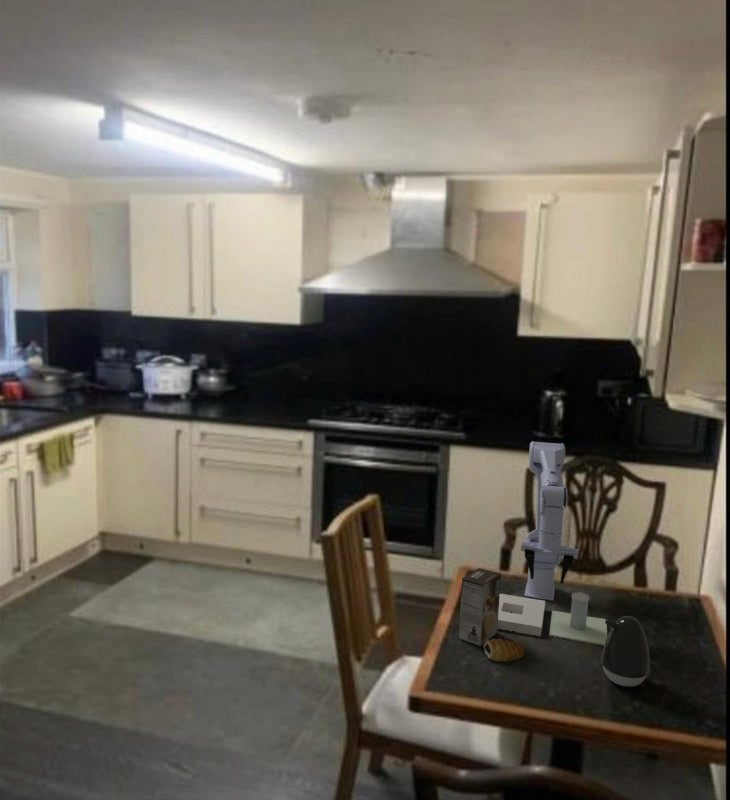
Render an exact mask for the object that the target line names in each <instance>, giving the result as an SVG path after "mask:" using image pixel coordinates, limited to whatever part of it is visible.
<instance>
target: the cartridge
mask: <svg viewBox="0 0 730 800" xmlns="http://www.w3.org/2000/svg"><path fill="white" fill-rule="evenodd" d="M589 601H590V596H589V594H587V593H584V592H580V591H576V592H575V591H574V592H572V593H571V607H570V608H571V609H570V614H571V617H570V627H571V628H573V629H575V630H585V629H586V621H587V616H588V608H589Z"/></svg>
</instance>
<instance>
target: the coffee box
mask: <svg viewBox="0 0 730 800" xmlns="http://www.w3.org/2000/svg"><path fill="white" fill-rule="evenodd" d="M501 577H502V574H501V573H500V572H496V571H493V570H488V569H485V568H481V567H478V568H477V569H475V570H473V571H471V572H470V573H469V574H467V575H465V576H464V577H463V578H462V579H461V594H460V595H461V596H460V598H461V599H460V615H459V633H458V634H459V635H458V636H459V637H458V639H460V640H462V641H466V642H468V643H471V644H474V645H475V646H476V645H477V646H479V647H482V646H484V644H485V642H486V641H487V640H491V639H492V638H493V637H494V636H495V635H496V634H497V633H498V629H497V627H498V612H499V595H500V594H501V593H500V592H501V591H500V590H501Z"/></svg>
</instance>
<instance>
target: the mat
mask: <svg viewBox="0 0 730 800" xmlns="http://www.w3.org/2000/svg"><path fill="white" fill-rule="evenodd" d="M570 617H571V612H570V613H569V612H563V611H558V610H552V611H551V617H550V627H549V634H548V636H549V637H552V636H553V637H552V638H557V637H559V638H558V639H563V638H565V639H564V640H569V641H575V642H580V643H581V642H582V643H585V644H586V643H587V644H592V645H599V646H602V647H604V645H605V642H606V639H607V637H608V625H607V624H605V621H606V620H607V619H606V618H602V617H601V618H600V617H593V616H588V615H587V621H586V629H585V630H575V629H573V628H571V627H570Z"/></svg>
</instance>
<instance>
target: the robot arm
mask: <svg viewBox="0 0 730 800" xmlns="http://www.w3.org/2000/svg"><path fill="white" fill-rule="evenodd" d="M528 453H529V454H528V459H529V460H528V461H529V462H528V468H529V471H530V472H531V473H533V474H534V476H535V480H536V505H535V508H536V510H535V512H536V513H535V515H536V516H535V529H534V530H532V531H530V532H529V533H528V534H527V535H526V537H525V541H521V543H520V551H521V552H524V561H526V563H527V565H528V573H527V583H526V585H525V591H524V597H526V598H532V599H538V600H544V601H554V599H555V597H554V596H555V592H556V591H555V590H556V589H555V588H556V587H555V585H554V584H555V583H554V581H555V571H556V570H555V569H556V568H557V566H559V564H561V562H562V569H561V575H560V584H564V581H565V579H566V578H565V577H566V575H567V573H568V571H569V569H570V567H571V566H572V564H573V561H574V559H576V560H578V558H579V549H577V548H572V547H568V546H564V545H562V537H563V524H564V514H565V513H564V512H565V509H566V508H567V503H568V489H567V486H566V485H565V484H564V482H563V475H562V471H563V467H564V463H565V460H566V447H565V444H564V443H562V442H561V443H555V442H554V443H553V442H543V441H541V442H540V441H533V440H532V441H531V442H530V443H529V451H528ZM562 557H563V558H562Z"/></svg>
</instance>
